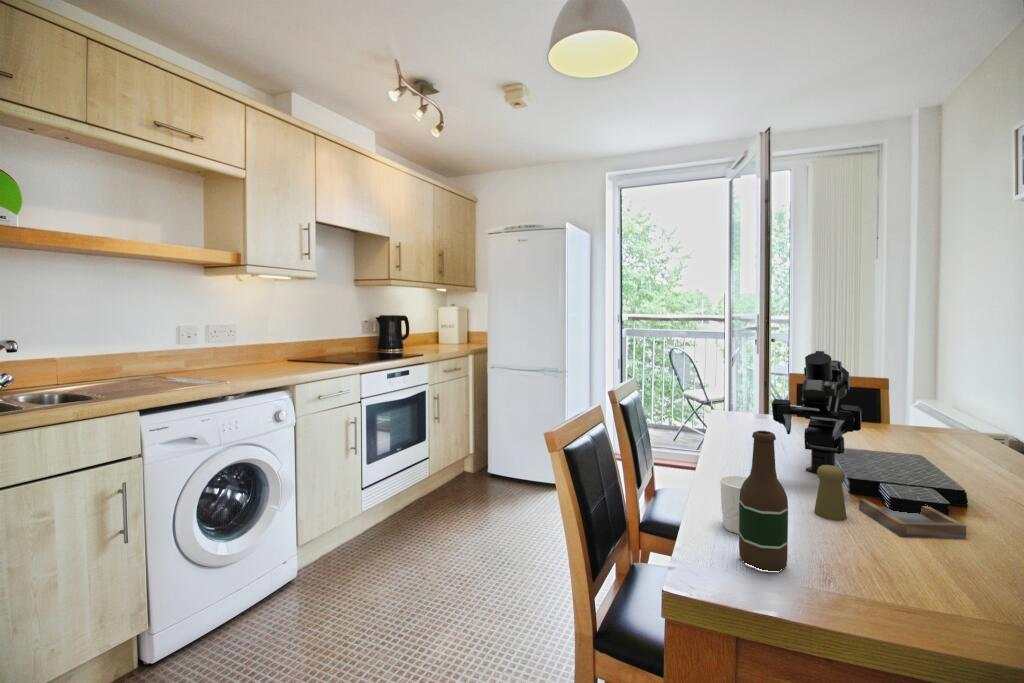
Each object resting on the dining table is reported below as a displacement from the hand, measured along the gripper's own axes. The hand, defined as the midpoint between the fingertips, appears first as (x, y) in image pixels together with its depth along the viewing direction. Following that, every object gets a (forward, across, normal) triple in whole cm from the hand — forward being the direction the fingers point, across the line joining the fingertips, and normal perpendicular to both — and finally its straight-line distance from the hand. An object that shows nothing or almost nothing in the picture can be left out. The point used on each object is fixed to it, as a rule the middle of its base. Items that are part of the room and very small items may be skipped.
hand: (810, 435), depth 113 cm
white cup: (+31, -9, +1) cm, 32 cm away
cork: (+14, +5, +10) cm, 18 cm away
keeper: (+9, +18, +13) cm, 24 cm away
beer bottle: (+42, -2, -5) cm, 42 cm away
